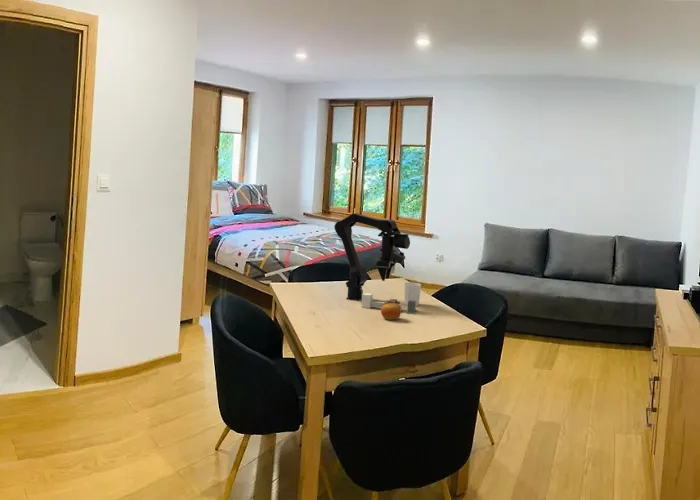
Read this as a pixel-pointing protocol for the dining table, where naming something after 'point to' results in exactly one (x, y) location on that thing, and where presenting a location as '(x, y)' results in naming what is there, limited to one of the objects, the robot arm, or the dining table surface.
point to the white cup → (412, 292)
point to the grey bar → (369, 303)
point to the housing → (396, 303)
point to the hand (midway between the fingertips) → (385, 279)
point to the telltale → (411, 306)
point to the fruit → (391, 311)
